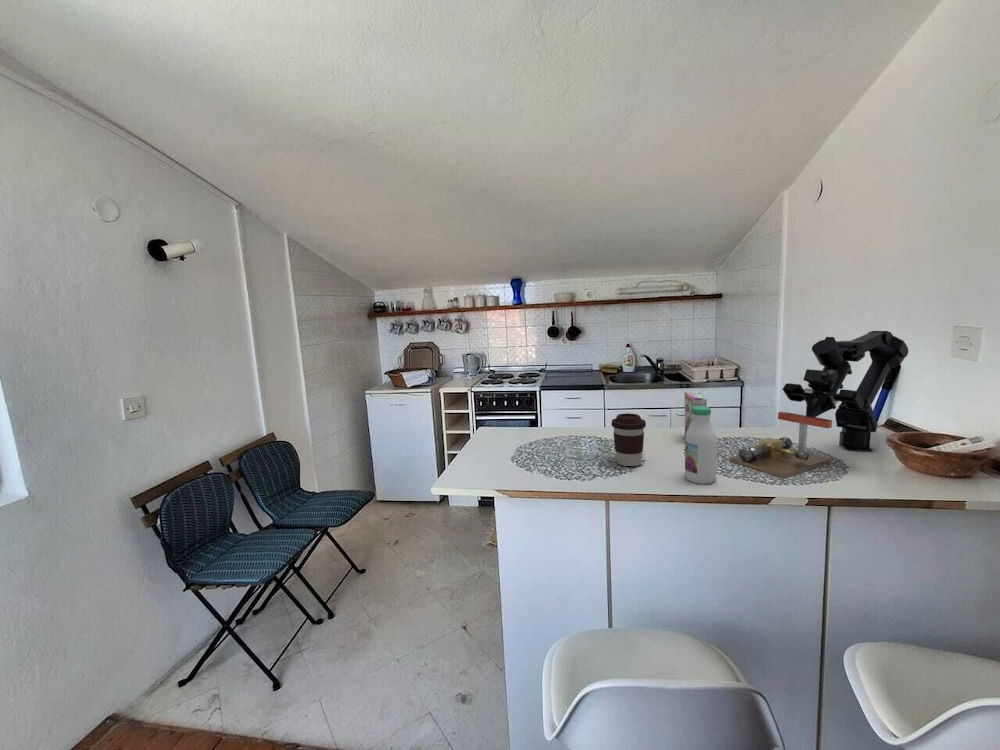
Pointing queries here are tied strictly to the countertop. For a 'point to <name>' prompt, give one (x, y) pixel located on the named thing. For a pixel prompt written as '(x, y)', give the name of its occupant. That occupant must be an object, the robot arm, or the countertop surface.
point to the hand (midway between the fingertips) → (807, 419)
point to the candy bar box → (692, 401)
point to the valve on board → (777, 458)
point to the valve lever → (804, 429)
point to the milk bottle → (700, 448)
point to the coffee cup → (628, 438)
